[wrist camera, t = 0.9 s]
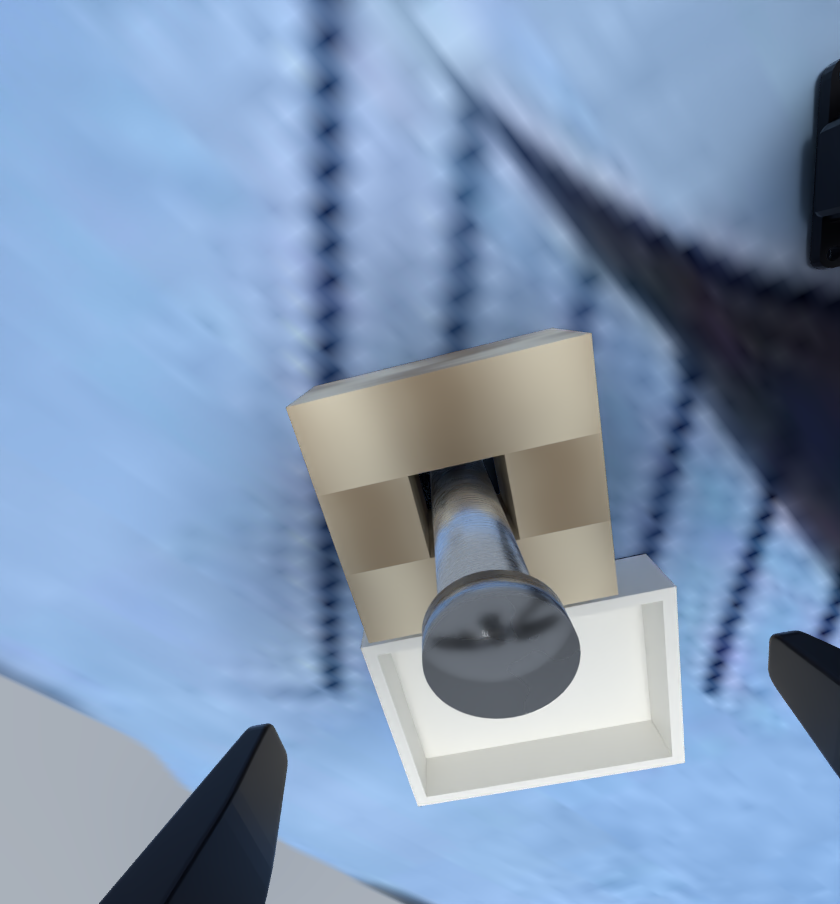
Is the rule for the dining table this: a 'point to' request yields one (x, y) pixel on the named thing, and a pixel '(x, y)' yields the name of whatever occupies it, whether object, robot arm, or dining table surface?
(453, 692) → the pin
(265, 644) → the dining table surface
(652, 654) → the tray
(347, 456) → the block
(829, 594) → the dining table surface
